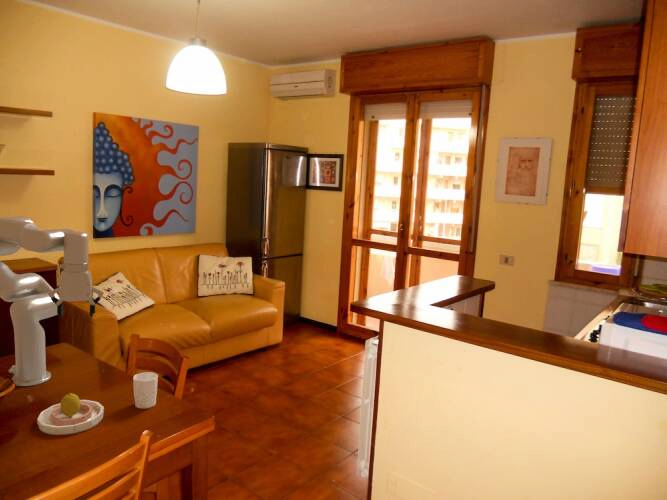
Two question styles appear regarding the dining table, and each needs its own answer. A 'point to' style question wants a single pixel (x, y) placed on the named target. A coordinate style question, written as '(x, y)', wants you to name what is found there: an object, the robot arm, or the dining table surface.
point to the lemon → (70, 405)
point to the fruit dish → (70, 418)
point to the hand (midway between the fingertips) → (76, 315)
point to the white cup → (145, 389)
